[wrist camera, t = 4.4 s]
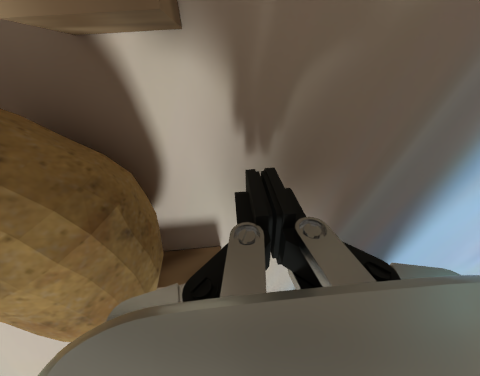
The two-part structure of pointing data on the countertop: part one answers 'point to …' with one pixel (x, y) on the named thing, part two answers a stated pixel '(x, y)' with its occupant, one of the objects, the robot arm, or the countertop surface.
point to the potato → (69, 233)
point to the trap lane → (113, 21)
